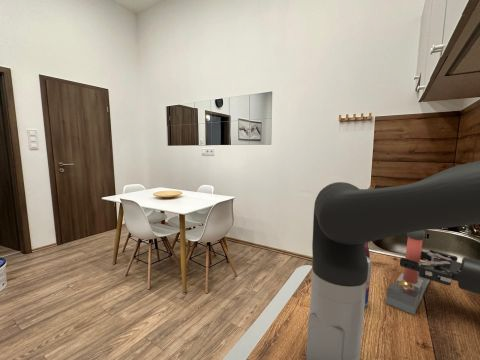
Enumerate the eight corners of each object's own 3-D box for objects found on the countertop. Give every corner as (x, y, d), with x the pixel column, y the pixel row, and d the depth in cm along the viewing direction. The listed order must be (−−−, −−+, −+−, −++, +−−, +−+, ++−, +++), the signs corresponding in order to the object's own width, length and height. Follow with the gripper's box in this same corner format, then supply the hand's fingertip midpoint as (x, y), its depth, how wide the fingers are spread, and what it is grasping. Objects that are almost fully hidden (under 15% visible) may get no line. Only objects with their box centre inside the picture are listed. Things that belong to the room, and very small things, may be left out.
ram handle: (418, 293, 64) (426, 230, 61) (396, 285, 67) (403, 225, 65) (422, 285, 67) (430, 226, 65) (401, 278, 71) (407, 221, 68)
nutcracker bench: (414, 315, 59) (416, 293, 58) (385, 303, 63) (388, 283, 62) (429, 279, 74) (432, 262, 73) (406, 272, 78) (408, 255, 78)
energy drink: (353, 310, 60) (357, 264, 58) (340, 297, 65) (343, 254, 64) (372, 307, 61) (377, 262, 59) (358, 294, 67) (362, 252, 65)
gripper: (490, 254, 60) (411, 236, 72) (490, 276, 50) (398, 251, 62) (485, 282, 62) (408, 260, 73) (484, 309, 52) (395, 278, 63)
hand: (404, 256), depth 67 cm, fingers open, 8 cm apart
